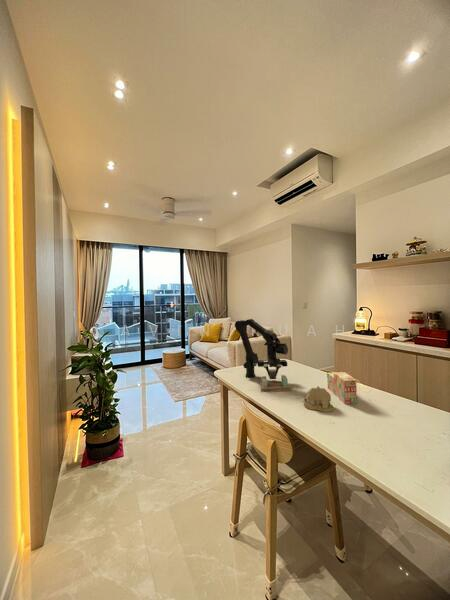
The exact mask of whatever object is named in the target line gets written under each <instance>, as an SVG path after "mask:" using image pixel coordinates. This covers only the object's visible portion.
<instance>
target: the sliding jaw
mask: <svg viewBox="0 0 450 600" xmlns="http://www.w3.org/2000/svg"><path fill="white" fill-rule="evenodd" d="M280 381H282V385H283V387H288V385H289V382H288V381H289V380H288V378H287V375H284V374H283V375H281V380H280Z"/></svg>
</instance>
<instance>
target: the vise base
mask: <svg viewBox="0 0 450 600" xmlns="http://www.w3.org/2000/svg"><path fill="white" fill-rule="evenodd" d="M259 386H260V391H261V392H291V391H292V390H291V387H290V385H289V384H288V387H283V385H282V380H279V381H278V380H277V381H276V380H273V381H271V380H270V381H269V380H268V379H267V376H266V375H261V381H260V382H259Z"/></svg>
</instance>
